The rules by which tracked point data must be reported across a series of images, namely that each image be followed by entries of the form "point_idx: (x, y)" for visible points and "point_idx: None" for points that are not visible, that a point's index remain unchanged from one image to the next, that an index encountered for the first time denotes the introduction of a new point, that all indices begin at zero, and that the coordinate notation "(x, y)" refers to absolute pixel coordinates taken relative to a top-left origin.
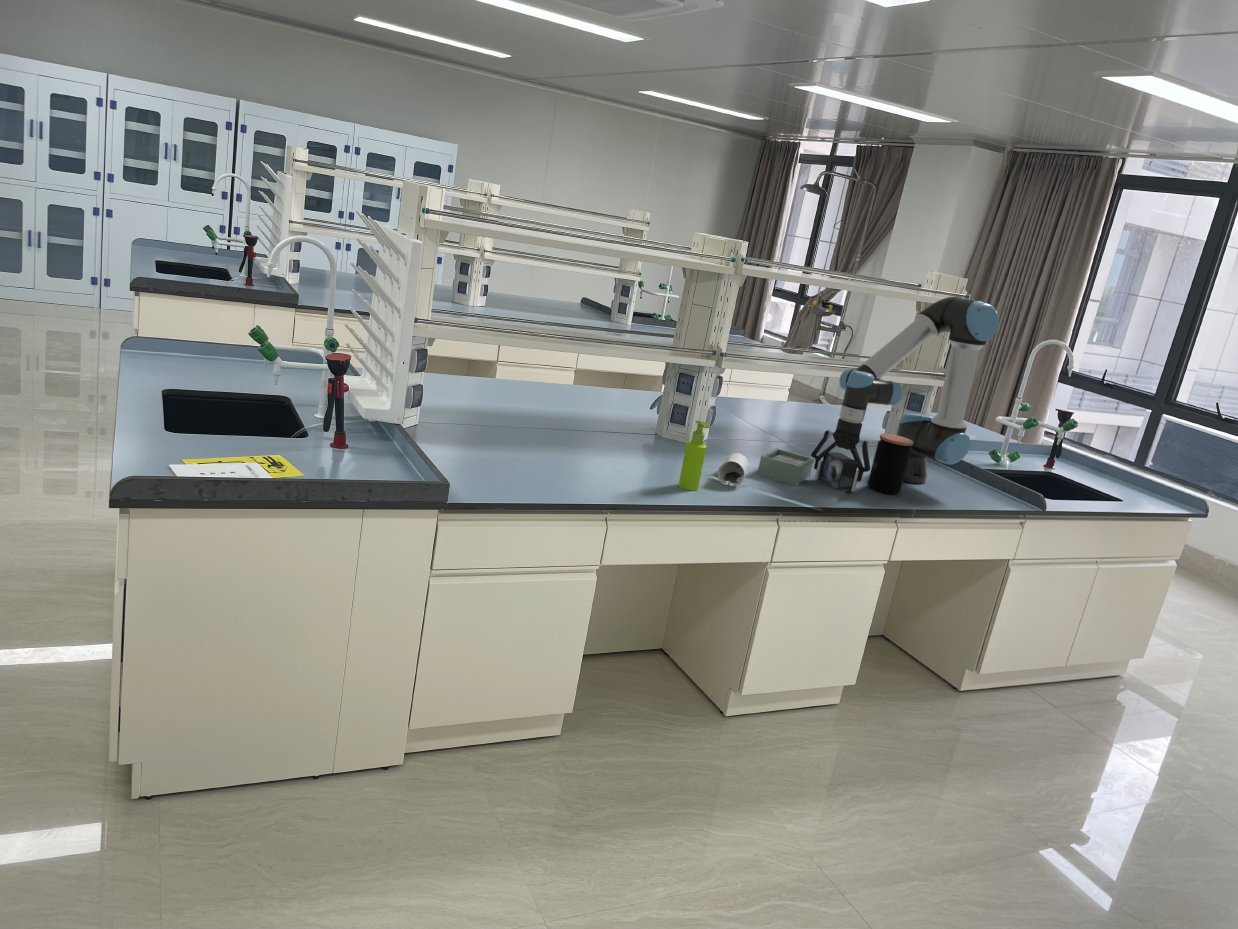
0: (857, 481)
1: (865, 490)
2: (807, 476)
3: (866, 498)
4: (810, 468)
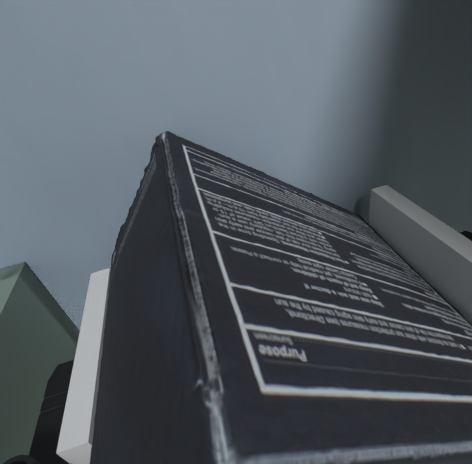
0: (434, 217)
1: (443, 2)
2: (61, 341)
3: (446, 205)
4: (22, 373)
